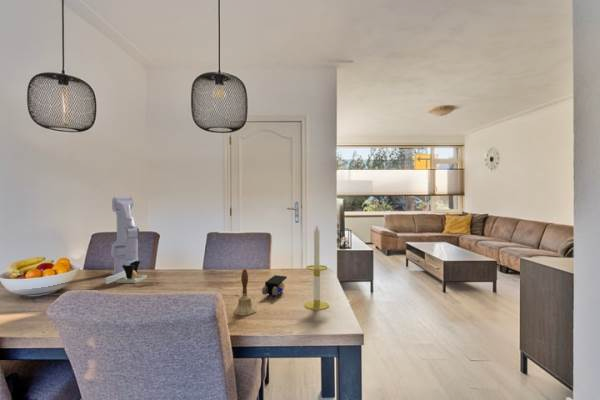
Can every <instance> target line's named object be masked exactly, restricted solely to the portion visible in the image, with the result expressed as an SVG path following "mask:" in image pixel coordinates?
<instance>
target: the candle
mask: <svg viewBox="0 0 600 400" xmlns="http://www.w3.org/2000/svg"><path fill="white" fill-rule="evenodd" d="M305 268H306V270H309V271H313V300H312V301H308V302H305V303H304V308H306V309H309V310H313V311H322V310H326V309H329V308H330V305H329V303H328V302H326V301H322V300H321V271H326V270H327V269H328V267H327V266H326V265H321V264H320V229H319V228H318V225H315V229H314V231H313V264H311V265H306V267H305Z"/></svg>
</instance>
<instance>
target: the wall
mask: <svg viewBox="0 0 600 400" xmlns="http://www.w3.org/2000/svg"><path fill="white" fill-rule="evenodd" d="M125 276H126V273H125V271H123V272H120V273H118V274H111V275H109V276H108V277H107V276H106V277H105V279H104V283H105V285H108V284H110V283H113V282H116V280H117V279H119V278H122V277H125Z"/></svg>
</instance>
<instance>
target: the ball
mask: <svg viewBox="0 0 600 400" xmlns="http://www.w3.org/2000/svg"><path fill="white" fill-rule="evenodd" d="M137 273H138V272H137ZM137 273H136V271H134V270H133V274H132V278H130V280H132V279H134V278H136V276H137Z"/></svg>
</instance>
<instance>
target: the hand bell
mask: <svg viewBox="0 0 600 400" xmlns="http://www.w3.org/2000/svg"><path fill="white" fill-rule="evenodd" d="M240 278H241V284H242V285H241V286H242V295H241V296H240V297H239V298H238V302H237V307H236V308H235V309H234V310H233V314H234V315H236V316H244V317H245V316H251V315H253V314H255V313H256V312H257V310H256V308H255V307H254V306H253V304H252V298H251V296H249V295H248V282H249V275H248V271H247V269H245V268H244V269H242V273H241V277H240Z"/></svg>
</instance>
